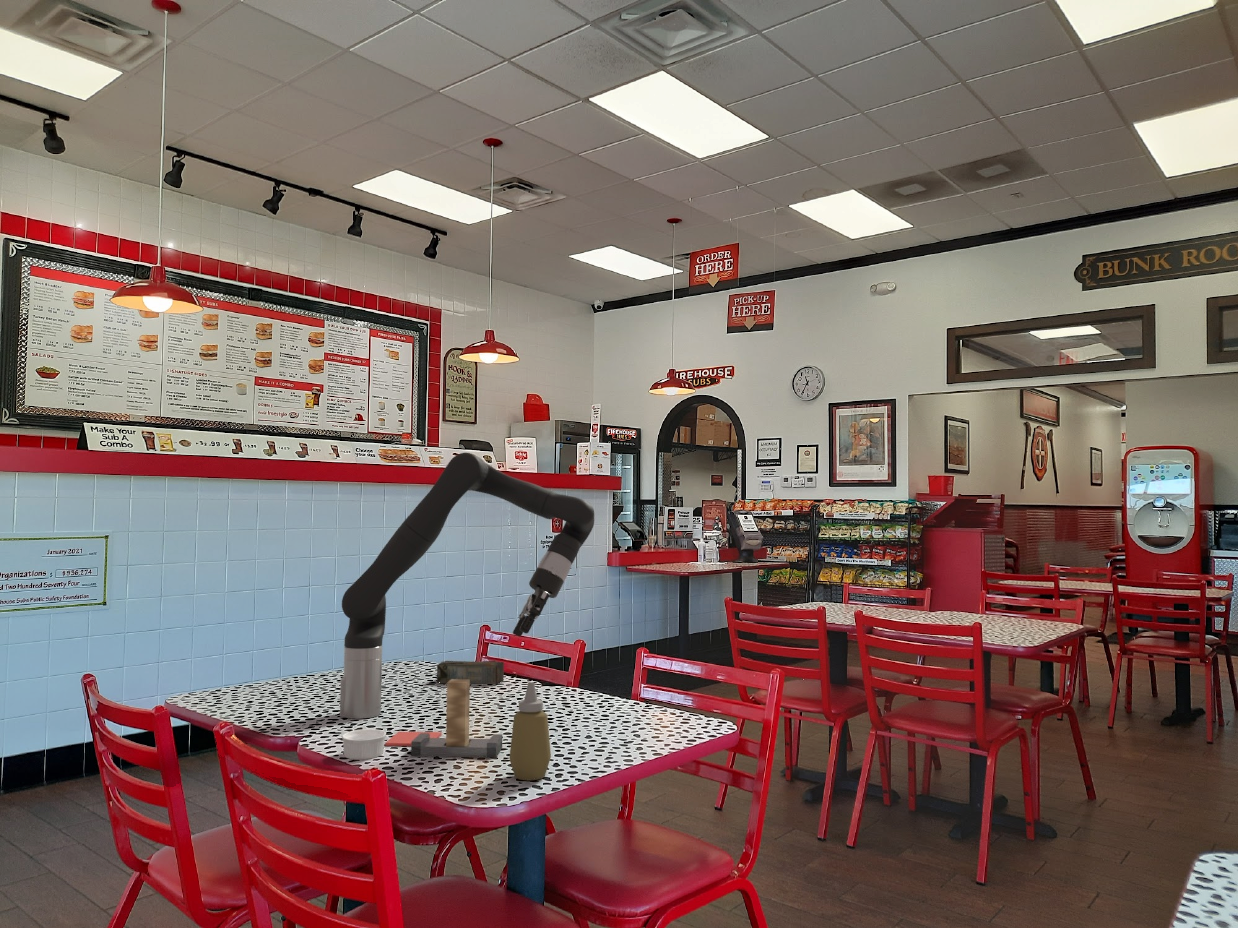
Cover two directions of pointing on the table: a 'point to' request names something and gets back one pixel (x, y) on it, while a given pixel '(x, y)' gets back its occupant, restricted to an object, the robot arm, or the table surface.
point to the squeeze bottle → (530, 738)
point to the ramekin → (363, 744)
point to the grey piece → (456, 747)
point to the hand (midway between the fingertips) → (519, 633)
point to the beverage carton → (471, 671)
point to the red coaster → (408, 738)
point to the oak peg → (458, 712)
